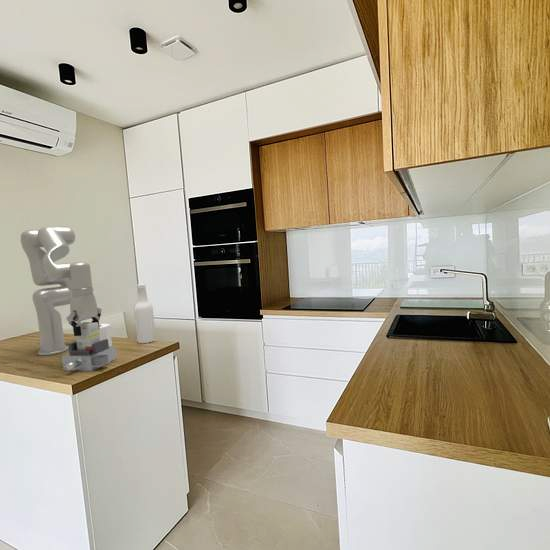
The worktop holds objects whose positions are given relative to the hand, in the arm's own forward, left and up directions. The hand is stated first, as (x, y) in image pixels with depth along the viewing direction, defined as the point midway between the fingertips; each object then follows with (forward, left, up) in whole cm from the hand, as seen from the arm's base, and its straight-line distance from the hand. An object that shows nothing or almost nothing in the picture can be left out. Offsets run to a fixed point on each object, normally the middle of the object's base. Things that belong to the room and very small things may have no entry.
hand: (87, 332), depth 137 cm
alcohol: (+4, +33, -14) cm, 36 cm away
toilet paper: (-11, +18, -14) cm, 25 cm away
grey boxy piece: (+2, -2, -14) cm, 14 cm away
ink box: (0, 0, -8) cm, 8 cm away
